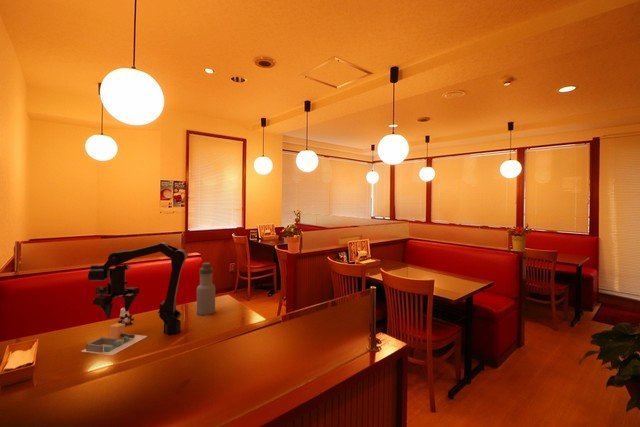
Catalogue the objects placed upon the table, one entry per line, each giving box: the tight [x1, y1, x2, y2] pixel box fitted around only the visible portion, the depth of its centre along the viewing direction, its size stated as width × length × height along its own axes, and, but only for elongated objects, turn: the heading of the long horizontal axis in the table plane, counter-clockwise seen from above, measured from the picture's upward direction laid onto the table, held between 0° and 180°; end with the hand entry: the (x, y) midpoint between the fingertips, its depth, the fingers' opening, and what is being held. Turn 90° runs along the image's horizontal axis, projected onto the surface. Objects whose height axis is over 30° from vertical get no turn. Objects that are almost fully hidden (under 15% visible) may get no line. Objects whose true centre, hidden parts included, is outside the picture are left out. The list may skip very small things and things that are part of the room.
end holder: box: [85, 336, 116, 352], centre depth 121 cm, size 7×7×2 cm
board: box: [80, 334, 148, 356], centre depth 125 cm, size 15×18×1 cm
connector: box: [109, 322, 136, 339], centre depth 130 cm, size 11×4×6 cm, turn 78°
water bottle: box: [196, 262, 216, 316], centre depth 166 cm, size 10×10×28 cm
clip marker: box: [115, 337, 129, 346], centre depth 125 cm, size 2×5×2 cm, turn 168°
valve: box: [117, 307, 135, 326], centre depth 149 cm, size 7×7×12 cm
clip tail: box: [104, 342, 119, 352], centre depth 120 cm, size 2×5×2 cm, turn 168°
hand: (117, 314), depth 131 cm, fingers open, 9 cm apart
